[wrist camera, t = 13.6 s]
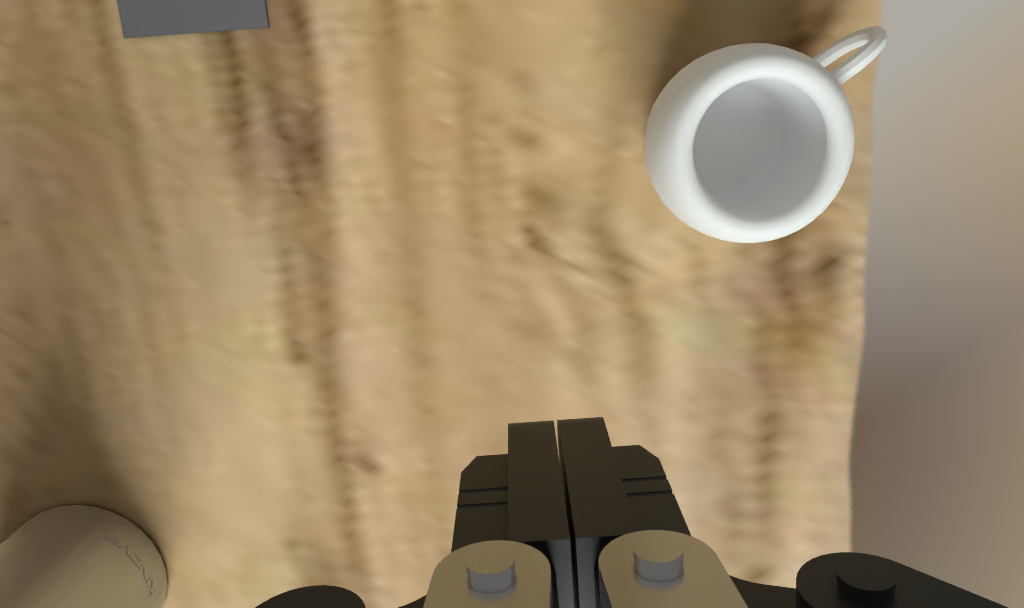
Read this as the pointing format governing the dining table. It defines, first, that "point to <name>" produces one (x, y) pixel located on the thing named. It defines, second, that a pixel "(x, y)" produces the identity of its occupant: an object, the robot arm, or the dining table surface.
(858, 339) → the dining table surface
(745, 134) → the mug
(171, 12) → the pads
